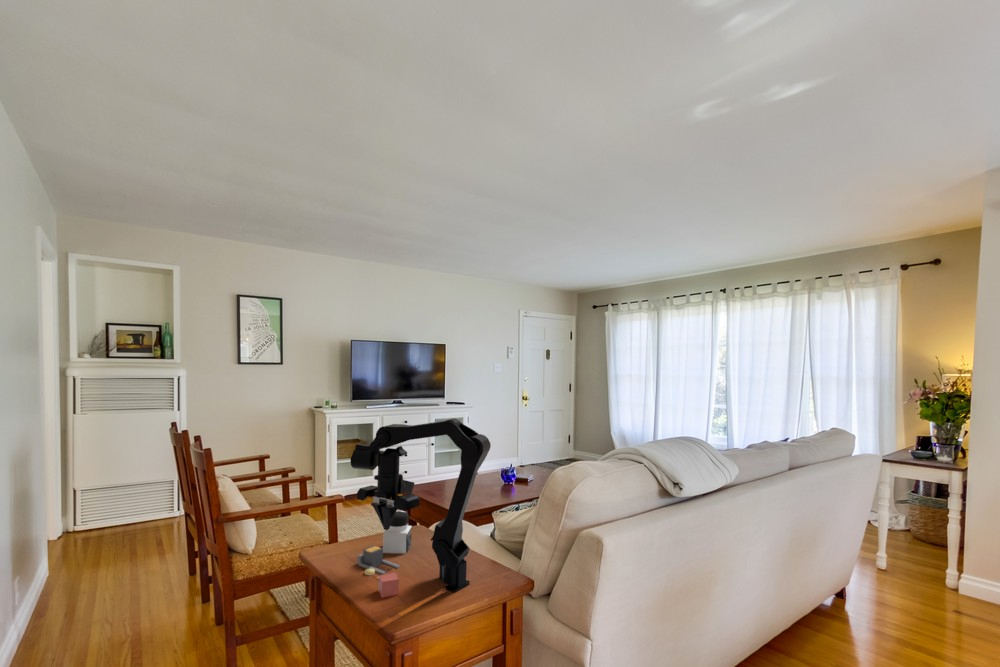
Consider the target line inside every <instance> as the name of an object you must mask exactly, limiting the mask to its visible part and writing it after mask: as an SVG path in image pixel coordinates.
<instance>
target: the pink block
mask: <svg viewBox="0 0 1000 667" xmlns="http://www.w3.org/2000/svg"><path fill="white" fill-rule="evenodd" d="M378 576H379V579H378V588H377V591H378V593H379V595H380V597H381V598H387V597H392V596H398V595H399V588H400V587H399V586H400V585H399V584H400V579H399V576H398V575H397V574H396V572H390V573H386V574H384V575H382V574H379V575H378Z"/></svg>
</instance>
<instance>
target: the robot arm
mask: <svg viewBox="0 0 1000 667" xmlns="http://www.w3.org/2000/svg"><path fill="white" fill-rule="evenodd" d="M439 436H447V437H448V438H449V439H450V440H451V441H452V442H453V444H454V445H455V446H456V447H457V448H458V449H459V450H461V452H460V471H459V475H458V477H457V481H456V484H455V486H454V490H453V494H452V498H451V499H450V504H449V507H448V510H447V512H446V515H445V516H446V517H445V518H442V520H441V521H439V522H438V523H437V524H436V525H435V526H434V531H433V535H432V537H431V538H430V541H432V542H431V548H432V550H433V553H434V554H435V555H436V558H437V562H438V566H439V573H438V574H439V577H438V579H440V580H441V581H442V583H444V584H446V586H444V587H443V589H444V590H445V589H446V590H448V591H450V592H453V593H456V592H458V591H459V590H461V589H463V588H464V587H466V586H468V585H470V583H471V582H470V580H467V561H468V560H465V558H466V557H467V556H468V554H469V552H470V547H469V545H468V544H467V543H466V542H465V540H463V531H464V528H463V519H464V516H465V512H466V510H467V507H468V504H469V503H468V502H469V500H470V497H471V493H472V490H473V487H474V484H475V481H476V476H477V474H478V471H479V469H480V468H481V467H482V464H483V463H484V462H485V461H486V460H485V459H486V458H487V456H488V454H489V452H490V450H491V446H492V445H491V441H490V440H489V438H488V437H487V436H486V435H484V434H481V433H478V431H475V430H474V429H472V428H471V427H469V426H467V425H466V424H465V423H463V422H461V421H460V420H459V419H457V418H451V419H446V420H440V421H433V422H428V423H420V424H415V425H414V424H411V425H410V424H403V423H402V424H401V423H392V424H389V425H384V426H380V427H379V428H378V430H377V431H376V433H375V437H374V439H373V440H372V441H371V443H370V444H366V443H357V444H355V446H354V447H355V449H353V451H352V454H351V457H350V466H351V467H352V468H353V469H355V470H357V469H358V470H368V471H374V470H376V469H377V474H376V475H374V476H373V477H374V478H373V479H374V480H376V481H377V486H376V485H367V486H363V487H360V488H359V489H358V490H357V493H356V500H359V501H364V502H365V501H366V499H367V498H368V497H370V498H372V499H373V500H372V502H371V503H370V506H371V507H373V509H374V511H375V513H376V515H377V517H378V519H379V521H380V524H381V525H382V527H383V530H384V531H385V530H388V529H389V528H390V525H391V523H392V520H393V517H394V515H395V513H396V511H404V512H407V511H408V510H411V509H415V508H418V507H420V497H419V495H416V494H413V490H414V487H415V481H410V480H405V479H404V475H403V474H402V473H400V457H404V456H405V455H407V454H408V451H406V450H405V448H403V446H402V445H399V444H402V443H405V442H407V441H412V440H419V439H427V438H432V437H433V438H434V437H439ZM396 445H399V446H397V447H396V448H393V446H396ZM382 449H385V450H382ZM405 493H406V494H405Z"/></svg>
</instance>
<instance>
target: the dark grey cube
mask: <svg viewBox="0 0 1000 667" xmlns="http://www.w3.org/2000/svg"><path fill="white" fill-rule="evenodd" d="M362 552H363V553H362V554H363V563H364V564H366V565H369V566H372V567H374V568H375V567H376V566H378V565H379V566H382V565H383V564H384V563H383V560H384V559H383V556H384V553H383V547H379V546H377V545H372V546H369V547H365V548H364V549H363V550H362ZM376 568H377V567H376Z"/></svg>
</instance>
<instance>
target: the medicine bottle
mask: <svg viewBox="0 0 1000 667" xmlns="http://www.w3.org/2000/svg"><path fill="white" fill-rule="evenodd" d="M412 527H413V526H412V525H409V513H408V512H407V511H402V510H397V511H396V513H395V515H394V517H393V520H392V523H391V525H390V528H389V529H388V530H384V531H383V533H382V534H383V535H382V549H383V554H405V555H406V554H407V553H408V552H409V550H410V548H411V546H412Z"/></svg>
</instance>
